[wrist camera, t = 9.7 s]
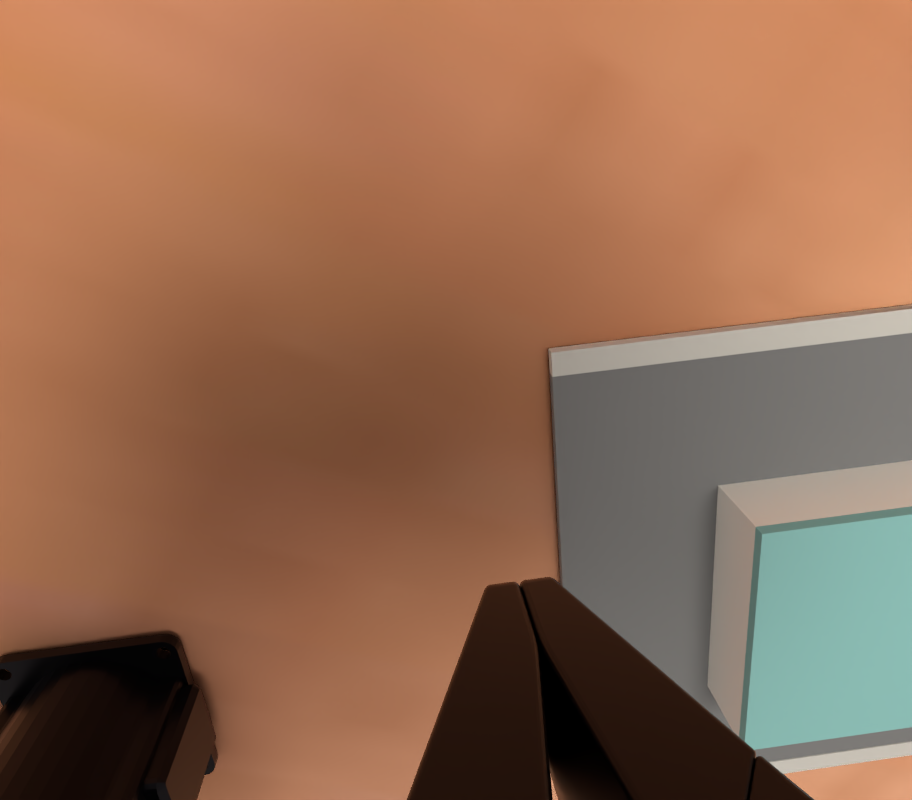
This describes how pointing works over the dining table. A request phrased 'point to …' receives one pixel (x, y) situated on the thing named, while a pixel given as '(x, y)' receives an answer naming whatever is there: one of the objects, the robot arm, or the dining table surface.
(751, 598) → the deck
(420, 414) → the dining table surface
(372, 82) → the dining table surface
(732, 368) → the mat
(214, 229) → the dining table surface
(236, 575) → the dining table surface
